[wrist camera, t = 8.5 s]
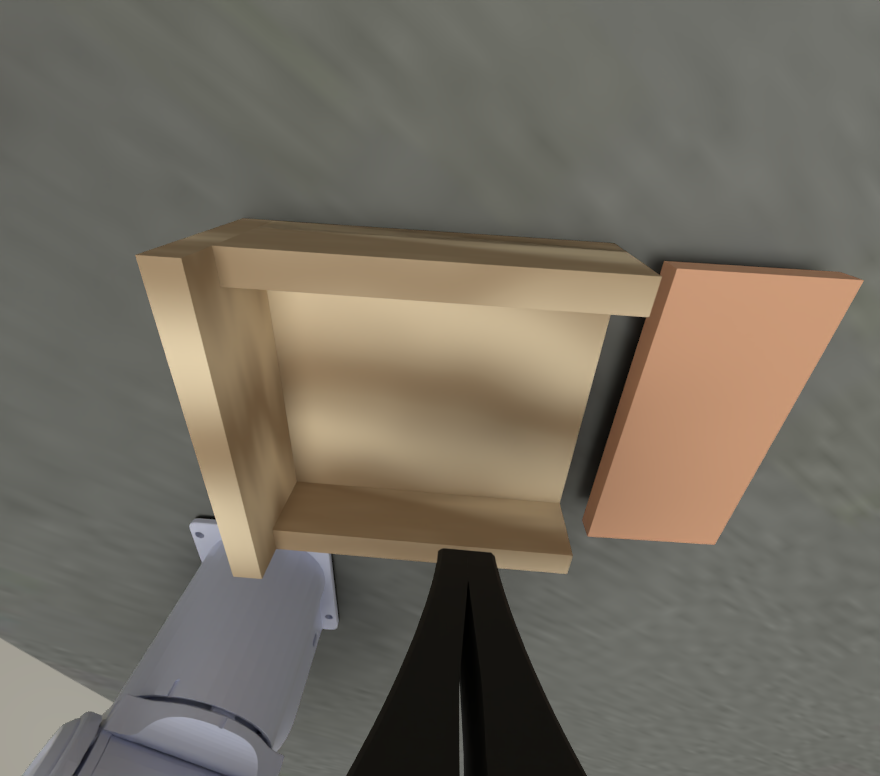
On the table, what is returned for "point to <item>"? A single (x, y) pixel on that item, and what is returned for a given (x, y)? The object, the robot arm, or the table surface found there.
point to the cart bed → (387, 383)
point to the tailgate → (709, 395)
